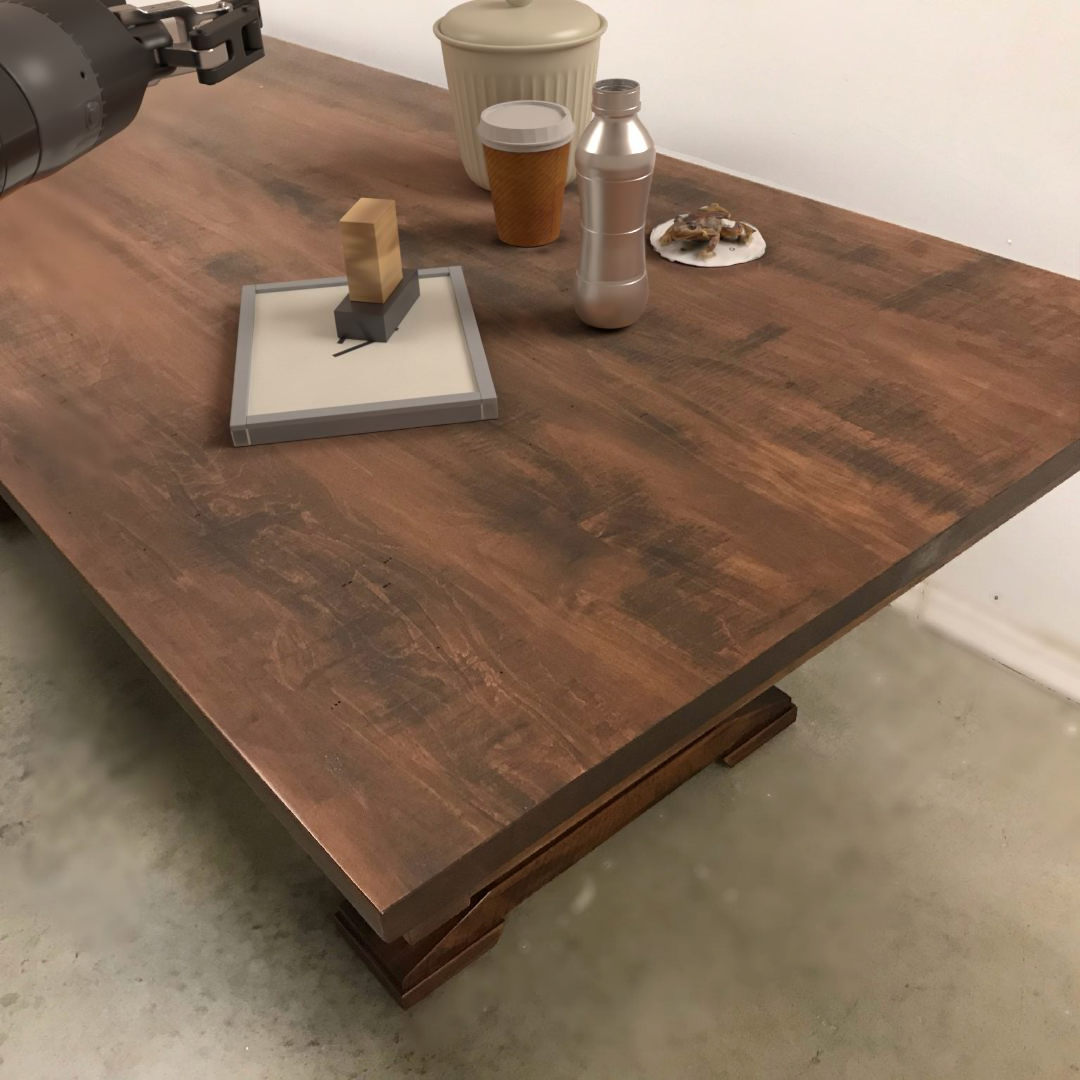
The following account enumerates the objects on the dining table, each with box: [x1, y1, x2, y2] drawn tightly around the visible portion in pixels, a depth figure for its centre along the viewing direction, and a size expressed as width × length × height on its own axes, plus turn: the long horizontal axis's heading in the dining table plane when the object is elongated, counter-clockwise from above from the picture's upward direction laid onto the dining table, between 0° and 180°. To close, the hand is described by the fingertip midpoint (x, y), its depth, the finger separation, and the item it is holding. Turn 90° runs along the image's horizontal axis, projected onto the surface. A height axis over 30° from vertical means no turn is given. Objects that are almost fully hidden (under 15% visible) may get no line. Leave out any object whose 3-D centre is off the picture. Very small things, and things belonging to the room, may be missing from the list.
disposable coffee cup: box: [476, 100, 576, 248], centre depth 108 cm, size 10×10×12 cm
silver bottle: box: [571, 77, 657, 329], centre depth 91 cm, size 6×7×20 cm
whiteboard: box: [229, 265, 499, 447], centre depth 92 cm, size 20×24×2 cm
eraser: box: [334, 197, 420, 342], centre depth 92 cm, size 4×9×10 cm, turn 167°
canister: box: [432, 0, 609, 192], centre depth 117 cm, size 18×18×21 cm
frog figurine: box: [649, 202, 767, 268], centre depth 108 cm, size 12×12×4 cm
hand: (185, 6), depth 65 cm, fingers open, 8 cm apart
